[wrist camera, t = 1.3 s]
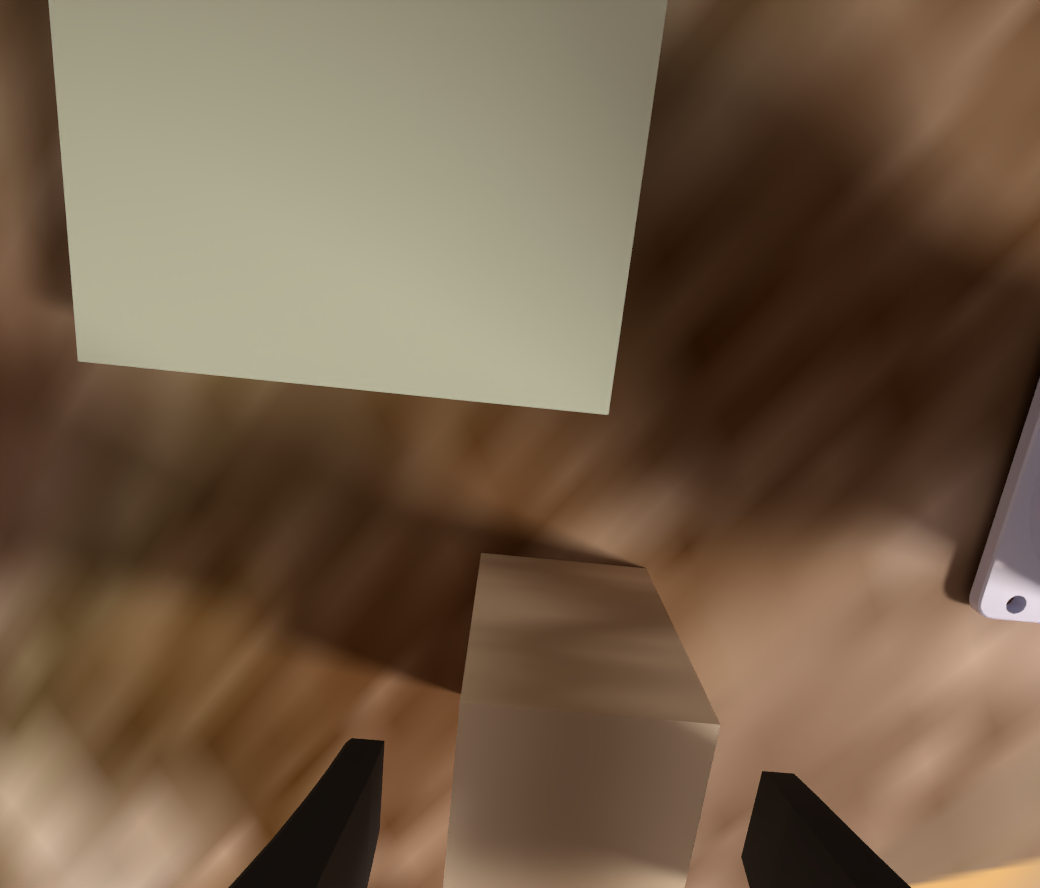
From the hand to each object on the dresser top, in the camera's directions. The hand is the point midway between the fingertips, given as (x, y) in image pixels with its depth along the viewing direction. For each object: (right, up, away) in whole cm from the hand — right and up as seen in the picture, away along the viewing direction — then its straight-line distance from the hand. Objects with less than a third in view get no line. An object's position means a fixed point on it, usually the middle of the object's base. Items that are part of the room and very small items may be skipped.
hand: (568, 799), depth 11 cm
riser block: (-4, +13, +2) cm, 14 cm away
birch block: (0, +1, +5) cm, 6 cm away
